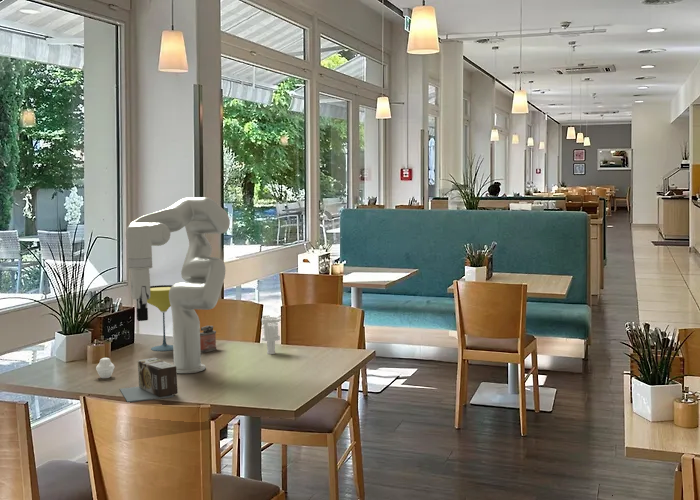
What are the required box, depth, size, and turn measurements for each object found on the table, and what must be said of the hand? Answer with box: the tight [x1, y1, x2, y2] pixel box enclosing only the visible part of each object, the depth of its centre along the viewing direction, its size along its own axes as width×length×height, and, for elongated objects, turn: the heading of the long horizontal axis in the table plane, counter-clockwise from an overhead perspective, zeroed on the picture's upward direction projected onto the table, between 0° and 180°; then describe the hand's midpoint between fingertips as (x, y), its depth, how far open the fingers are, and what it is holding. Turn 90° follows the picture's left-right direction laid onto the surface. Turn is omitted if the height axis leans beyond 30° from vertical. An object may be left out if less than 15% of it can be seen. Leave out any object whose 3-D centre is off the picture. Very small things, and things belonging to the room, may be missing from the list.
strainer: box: [261, 314, 281, 355], centre depth 301 cm, size 7×7×15 cm
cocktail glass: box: [147, 284, 174, 352], centre depth 312 cm, size 18×18×25 cm
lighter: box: [200, 325, 217, 353], centre depth 308 cm, size 8×3×10 cm, turn 144°
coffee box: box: [137, 357, 178, 397], centre depth 244 cm, size 9×6×16 cm
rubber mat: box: [119, 386, 174, 403], centre depth 243 cm, size 16×14×1 cm
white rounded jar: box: [95, 357, 116, 379], centre depth 265 cm, size 6×6×7 cm
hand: (142, 320), depth 246 cm, fingers closed
